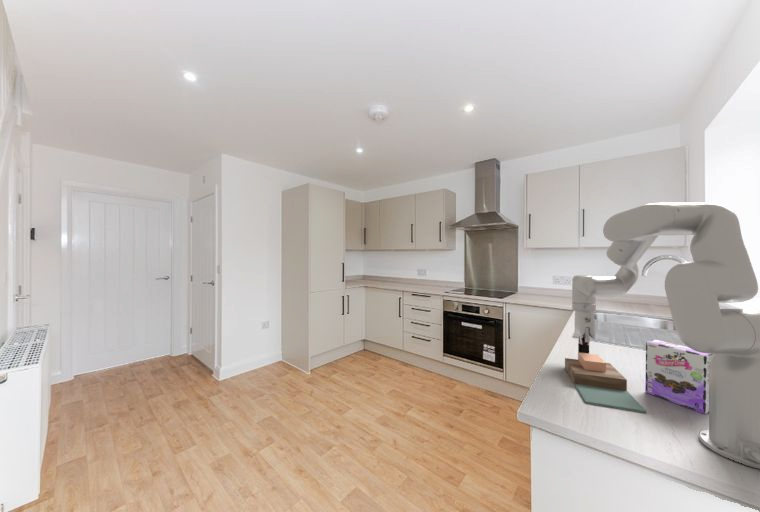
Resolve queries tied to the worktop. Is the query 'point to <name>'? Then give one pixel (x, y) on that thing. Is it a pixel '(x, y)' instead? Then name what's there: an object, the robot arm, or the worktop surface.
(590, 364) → the peach rectangular block
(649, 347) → the candy box
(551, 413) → the worktop surface
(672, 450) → the worktop surface
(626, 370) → the worktop surface
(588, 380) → the brown block
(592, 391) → the mat
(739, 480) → the worktop surface
